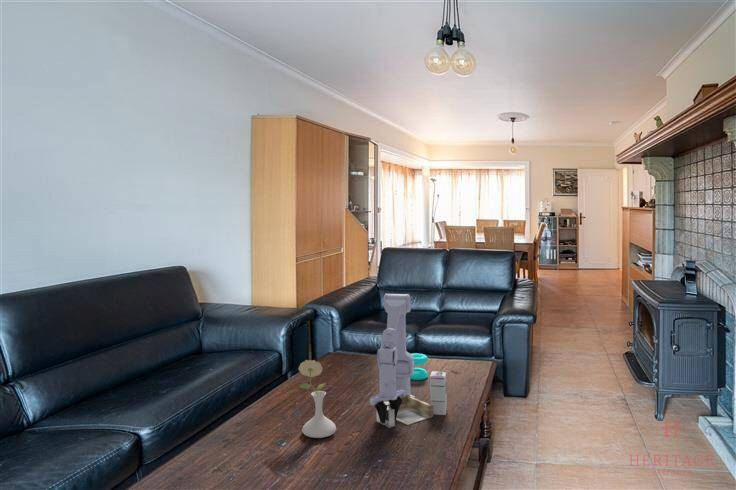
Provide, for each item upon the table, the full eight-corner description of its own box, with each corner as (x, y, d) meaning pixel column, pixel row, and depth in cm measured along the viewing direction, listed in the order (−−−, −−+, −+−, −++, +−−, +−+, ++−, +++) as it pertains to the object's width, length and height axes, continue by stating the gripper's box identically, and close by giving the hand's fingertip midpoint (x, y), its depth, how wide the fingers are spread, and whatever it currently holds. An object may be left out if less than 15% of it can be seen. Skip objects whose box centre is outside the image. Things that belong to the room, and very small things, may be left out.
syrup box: (446, 415, 177) (446, 376, 177) (429, 414, 179) (429, 375, 178) (447, 409, 183) (446, 371, 182) (431, 408, 184) (431, 370, 184)
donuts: (420, 359, 214) (401, 356, 220) (421, 382, 214) (401, 378, 220) (431, 354, 222) (412, 351, 228) (431, 376, 222) (413, 372, 228)
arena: (380, 413, 180) (380, 402, 180) (406, 404, 188) (406, 394, 188) (406, 426, 169) (406, 414, 169) (433, 416, 176) (433, 405, 176)
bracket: (376, 421, 173) (376, 404, 173) (387, 417, 176) (387, 401, 176) (388, 427, 167) (388, 410, 167) (400, 424, 170) (399, 407, 170)
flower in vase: (341, 429, 167) (340, 357, 166) (328, 443, 156) (326, 366, 155) (307, 424, 171) (305, 354, 170) (291, 438, 160) (290, 363, 159)
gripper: (378, 389, 161) (378, 429, 162) (411, 380, 170) (411, 418, 171) (365, 384, 167) (366, 422, 168) (398, 375, 176) (398, 412, 176)
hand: (388, 420), depth 170 cm, fingers open, 4 cm apart
